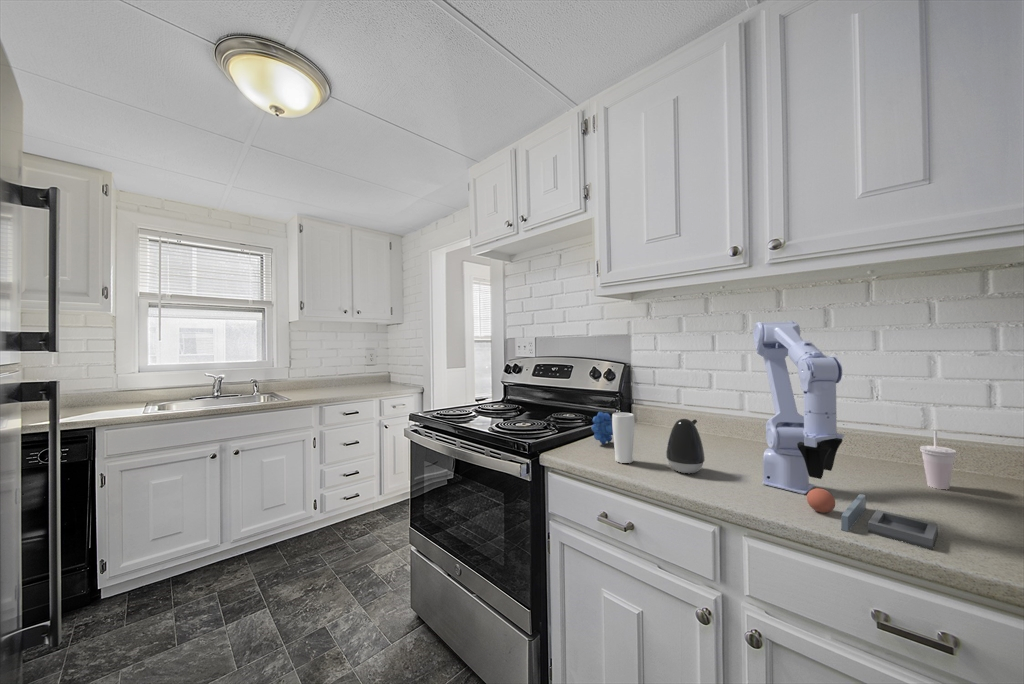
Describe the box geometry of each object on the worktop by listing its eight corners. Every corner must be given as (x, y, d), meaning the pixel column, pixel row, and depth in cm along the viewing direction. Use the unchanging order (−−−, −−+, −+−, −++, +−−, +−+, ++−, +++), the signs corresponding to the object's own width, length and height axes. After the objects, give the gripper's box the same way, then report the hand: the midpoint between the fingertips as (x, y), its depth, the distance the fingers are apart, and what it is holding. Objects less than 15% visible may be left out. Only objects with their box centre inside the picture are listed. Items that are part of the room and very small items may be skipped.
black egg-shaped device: (712, 472, 115) (712, 419, 115) (689, 479, 109) (689, 424, 109) (681, 463, 124) (681, 413, 123) (659, 469, 118) (658, 418, 118)
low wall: (841, 529, 80) (841, 515, 80) (859, 507, 90) (859, 493, 90) (847, 531, 79) (847, 516, 79) (865, 508, 89) (865, 495, 89)
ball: (803, 511, 89) (803, 488, 89) (810, 504, 92) (810, 483, 92) (832, 518, 85) (831, 495, 85) (838, 512, 88) (837, 489, 88)
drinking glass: (627, 466, 121) (626, 417, 121) (608, 461, 126) (607, 414, 126) (639, 461, 126) (638, 414, 125) (620, 457, 131) (619, 411, 130)
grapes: (601, 449, 140) (601, 415, 140) (587, 445, 146) (586, 412, 146) (623, 443, 147) (622, 410, 147) (609, 439, 153) (608, 408, 152)
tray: (868, 532, 79) (867, 522, 79) (877, 518, 84) (877, 509, 84) (932, 550, 72) (932, 539, 72) (937, 534, 78) (937, 524, 78)
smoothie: (936, 482, 104) (936, 428, 104) (965, 491, 97) (964, 434, 97) (912, 482, 104) (912, 429, 103) (940, 492, 97) (939, 435, 97)
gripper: (833, 419, 80) (834, 486, 80) (851, 409, 89) (851, 470, 90) (792, 414, 86) (793, 477, 86) (812, 406, 95) (813, 463, 95)
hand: (820, 473), depth 88 cm, fingers open, 7 cm apart
